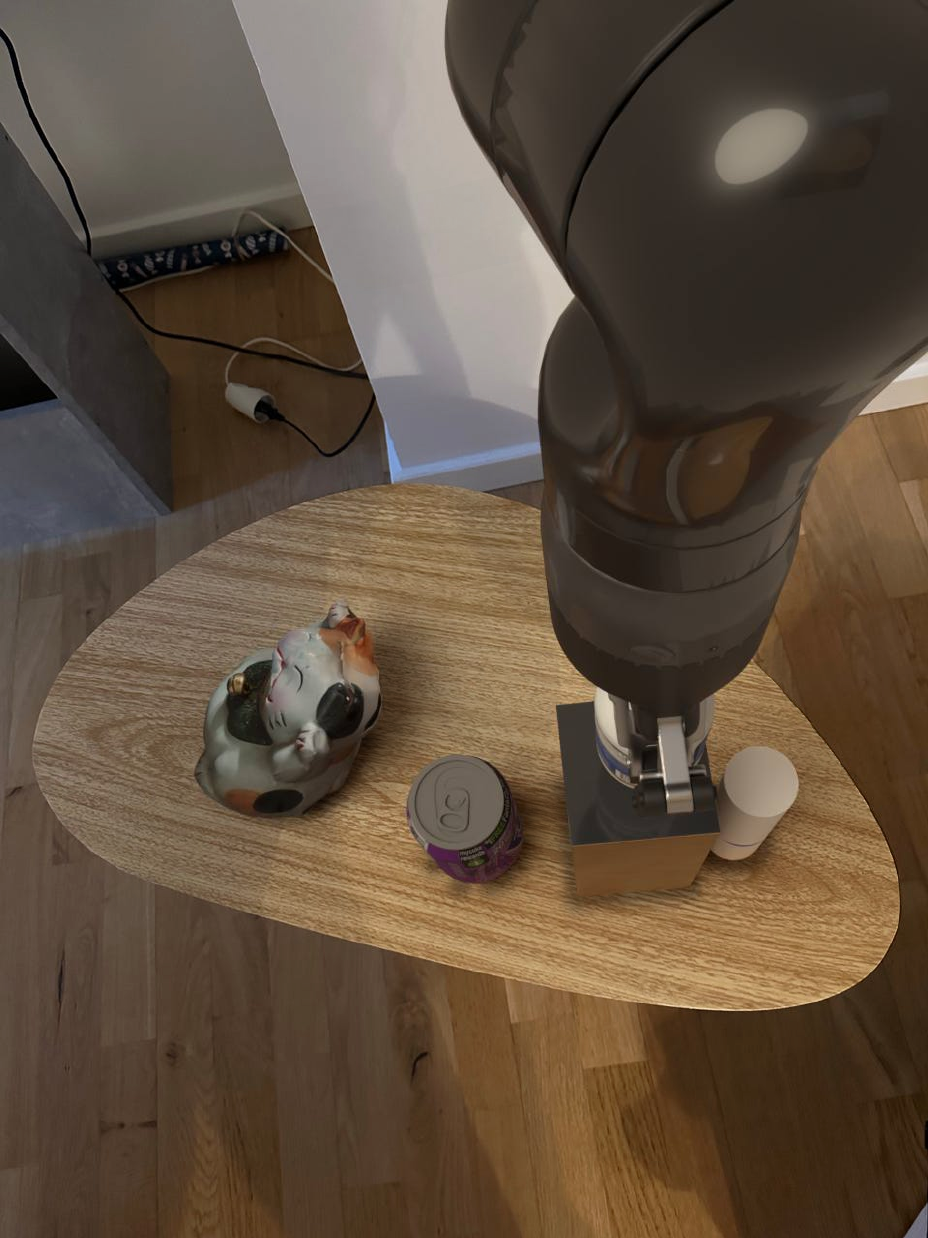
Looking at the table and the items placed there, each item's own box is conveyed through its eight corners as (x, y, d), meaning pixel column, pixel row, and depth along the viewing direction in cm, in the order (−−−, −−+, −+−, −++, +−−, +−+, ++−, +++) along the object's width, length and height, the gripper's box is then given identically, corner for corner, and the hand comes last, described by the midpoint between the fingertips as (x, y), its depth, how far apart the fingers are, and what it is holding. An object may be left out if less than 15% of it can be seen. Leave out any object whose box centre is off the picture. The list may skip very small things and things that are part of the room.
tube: (728, 788, 76) (756, 731, 62) (774, 829, 75) (813, 780, 61) (689, 830, 75) (708, 782, 62) (735, 872, 74) (766, 832, 60)
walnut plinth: (673, 777, 77) (696, 692, 59) (690, 887, 74) (719, 834, 56) (566, 787, 78) (555, 707, 59) (577, 897, 75) (570, 847, 56)
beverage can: (515, 892, 75) (500, 865, 64) (420, 876, 76) (390, 847, 65) (531, 797, 78) (519, 755, 67) (439, 782, 79) (412, 739, 68)
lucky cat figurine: (233, 643, 85) (265, 543, 75) (370, 691, 87) (421, 600, 77) (170, 803, 76) (196, 715, 66) (325, 853, 78) (375, 775, 68)
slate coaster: (696, 692, 59) (697, 690, 58) (719, 834, 56) (720, 832, 55) (555, 707, 59) (555, 704, 59) (570, 847, 56) (570, 846, 56)
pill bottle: (660, 672, 54) (672, 599, 45) (724, 756, 52) (749, 696, 43) (574, 727, 54) (568, 664, 45) (635, 814, 52) (641, 766, 43)
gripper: (833, 761, 29) (753, 861, 45) (745, 346, 35) (701, 562, 50) (568, 787, 30) (580, 876, 45) (523, 375, 36) (547, 579, 51)
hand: (644, 710), depth 48 cm, fingers closed on pill bottle, 5 cm apart
